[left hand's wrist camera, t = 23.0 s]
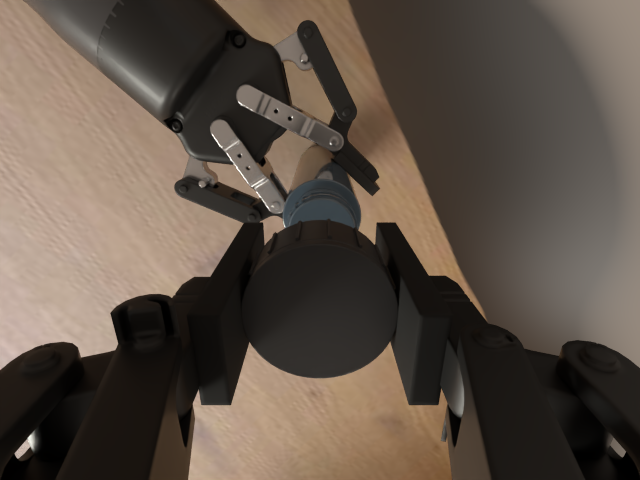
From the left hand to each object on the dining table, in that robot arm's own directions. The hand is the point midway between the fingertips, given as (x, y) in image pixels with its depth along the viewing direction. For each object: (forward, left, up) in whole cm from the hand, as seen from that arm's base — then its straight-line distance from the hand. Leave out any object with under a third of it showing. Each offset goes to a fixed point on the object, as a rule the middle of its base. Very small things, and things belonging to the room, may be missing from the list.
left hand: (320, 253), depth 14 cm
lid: (0, 0, +4) cm, 4 cm away
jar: (0, 0, -17) cm, 17 cm away
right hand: (-2, -2, -11) cm, 11 cm away
